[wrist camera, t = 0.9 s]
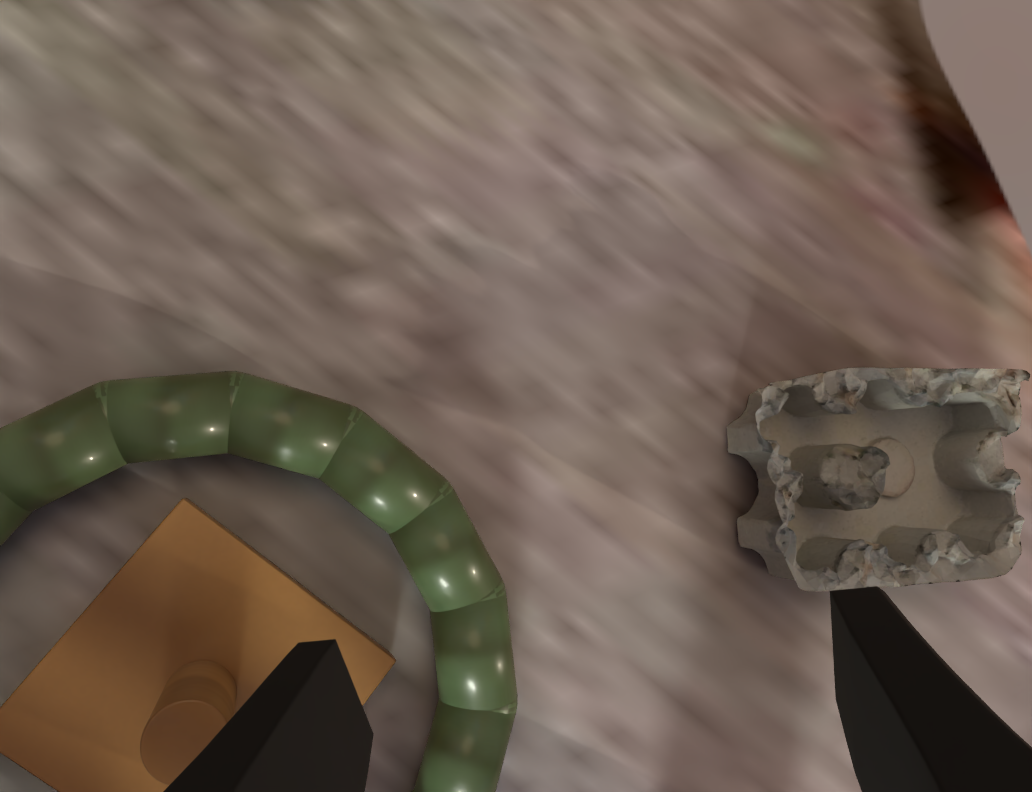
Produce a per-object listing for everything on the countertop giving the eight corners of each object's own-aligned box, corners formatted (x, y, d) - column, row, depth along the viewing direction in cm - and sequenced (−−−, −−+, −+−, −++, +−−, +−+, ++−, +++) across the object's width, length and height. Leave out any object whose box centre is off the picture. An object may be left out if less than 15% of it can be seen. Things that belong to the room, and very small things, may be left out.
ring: (242, 1147, 24) (240, 1216, 22) (-344, 784, 21) (-417, 821, 19) (607, 615, 29) (636, 627, 27) (164, 256, 26) (154, 235, 24)
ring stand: (219, 883, 25) (207, 992, 20) (-14, 726, 24) (-95, 797, 18) (392, 654, 27) (423, 697, 22) (185, 497, 26) (164, 502, 20)
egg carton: (953, 375, 34) (1043, 362, 30) (967, 565, 33) (1061, 577, 29) (716, 375, 31) (782, 361, 27) (727, 585, 30) (796, 601, 26)
